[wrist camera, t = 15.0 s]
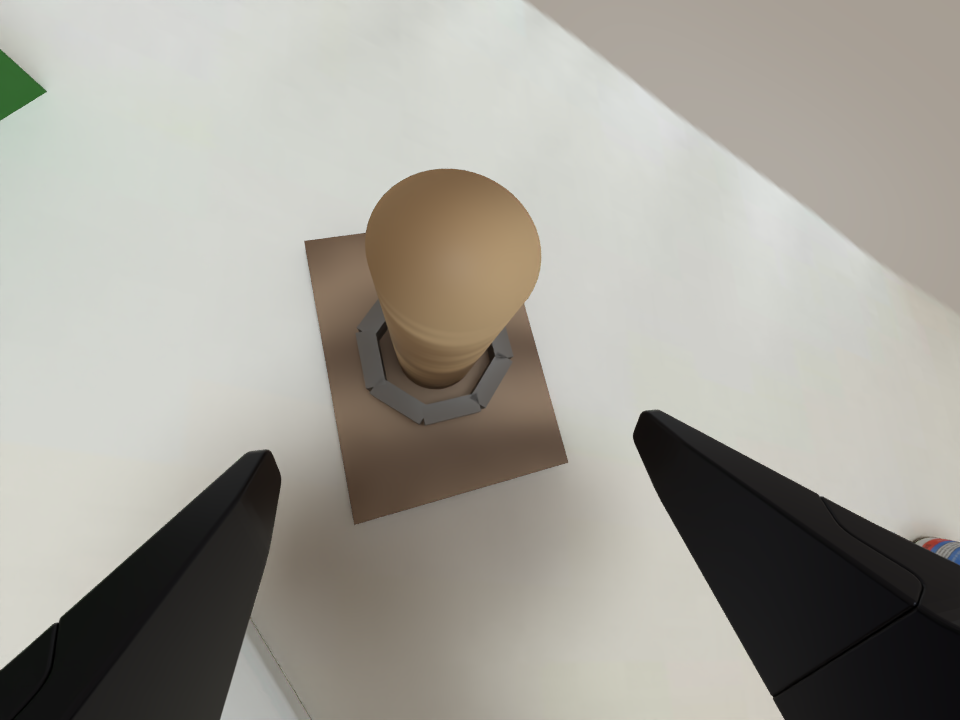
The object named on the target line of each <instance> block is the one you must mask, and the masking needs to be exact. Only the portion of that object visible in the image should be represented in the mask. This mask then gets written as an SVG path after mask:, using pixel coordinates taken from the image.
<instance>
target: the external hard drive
mask: <svg viewBox="0 0 960 720" xmlns="http://www.w3.org/2000/svg"><path fill="white" fill-rule="evenodd" d="M220 720H311V718H310V717H309V715H308V713H307V712H306V710H305V709H304V707H303V705H302V704H301V702H300V700H299V699H298V697H297V695H296V694H295V692H294V690H293V689H292V687H291V685H290V684H289V682H288V680H287V679H286V677H285V675H284V674H283V672H282V670H281V669H280V667H279V665H278V664H277V662H276V660H275V659H274V657H273V655H272V654H271V652H270V650H269V649H268V647H267V646H266V644H265V642H264V641H263V639H262V637H261V636H260V634H259V632H258V631H257V629H256V627H255V626H254V624H253V622H252V621H251V619H250V620H249V623H248V626H247V630H246V633H245V637H244V640H243V643H242V647H241V650H240V654H239V657H238V660H237V664H236V667H235V671H234V674H233V678H232V681H231V684H230V688H229V691H228V695H227V698H226V701H225V705H224V708H223V712H222V715H221V719H220Z"/></svg>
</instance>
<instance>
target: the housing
mask: <svg viewBox="0 0 960 720" xmlns="http://www.w3.org/2000/svg"><path fill="white" fill-rule="evenodd" d="M365 237H366V233H362V234H354V235H347V236H339V237H331V238H324V239H316V240H308V241H304V242H305V248H306V253H307V259H308V265H309V270H310V276H311V282H312V287H313V293H314V299H315V304H316V310H317V316H318V321H319V327H320V333H321V338H322V344H323V350H324V355H325V361H326V367H327V372H328V378H329V384H330V389H331V395H332V401H333V406H334V412H335V418H336V423H337V429H338V435H339V440H340V446H341V452H342V457H343V463H344V469H345V474H346V480H347V486H348V491H349V497H350V503H351V508H352V514H353V520H354V525H355V524H359V523H362V522H366V521H369V520H373V519H376V518H379V517H383V516H386V515H390V514H393V513H397V512H400V511H403V510H407V509H410V508H414V507H417V506H421V505H424V504H427V503H431V502H434V501H438V500H441V499H445V498H448V497H451V496H455V495H458V494H462V493H465V492H469V491H472V490H475V489H479V488H482V487H486V486H489V485H493V484H496V483H499V482H503V481H506V480H510V479H513V478H517V477H520V476H523V475H527V474H530V473H534V472H537V471H541V470H544V469H547V468H551V467H554V466H558V465H561V464H565V463H568V460H567V456H566V452H565V449H564V445H563V442H562V438H561V435H560V431H559V427H558V424H557V420H556V417H555V413H554V409H553V406H552V402H551V399H550V395H549V392H548V388H547V384H546V381H545V377H544V374H543V370H542V366H541V363H540V359H539V356H538V352H537V349H536V345H535V341H534V338H533V334H532V331H531V327H530V323H529V320H528V316H527V313H526V309H525V305H524V304H523V305H522V306H521V307H520V309H519V310H518V311H517V312H516V314H515V315H514V316H513V317H512V318H511V320H510V321H509V322H508V323H507V325H506V326H505V327H504V328H503V330H502V331H501V332H500V333H499V335H498V336H497V337H496V338H495V339H494V341H493V342H492V343H491V344H490V346H489V347H488V348H487V349H486V351H485V352H484V353H483V354H482V356H481V357H480V358H479V359H478V360H477V362H476V363H475V364H474V365H473V367H472V368H471V369H470V370H469V372H468V373H467V374H466V375H465V377H464V378H463V379H462V380H461V381H459V382H458V383H456V384H455V385H453V386H450V387H448V388H444V389H428V388H424V387H421V386H419V385H417V384H415V383H414V382H412V381H411V380H410V379H409V378H408V377H407V376H406V375H405V374H404V372H403V371H402V369H401V367H400V365H399V362H398V359H397V356H396V352H395V349H394V346H393V343H392V340H391V337H390V333H389V330H388V327H387V324H386V321H385V317H384V314H383V311H382V308H381V305H380V302H379V298H378V295H377V292H376V289H375V286H374V283H373V279H372V276H371V273H370V270H369V267H368V263H367V258H366V251H365Z"/></svg>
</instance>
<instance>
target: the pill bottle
mask: <svg viewBox="0 0 960 720" xmlns="http://www.w3.org/2000/svg"><path fill="white" fill-rule="evenodd" d="M915 544H917V545H919V546H921V547H924V548H926V549H928V550H930V551H932V552H934V553H936V554H938V555H940V556H942V557H944V558H947V559H949V560H951V561H953V562H955V563H957V564H959V565H960V542H956V541H951V540H946V539H940V538H924V539H921V540H919V541H917V542H916V543H915Z"/></svg>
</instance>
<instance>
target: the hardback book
mask: <svg viewBox="0 0 960 720" xmlns="http://www.w3.org/2000/svg"><path fill="white" fill-rule="evenodd" d="M45 92H47V91H46V90H45V89H43V88H42V87H41V86H40V85H39V84H38V83H37V82H36V81H35V80H34V79H32V78H31V77H30V76H29V75H28V74H27V73H26V72H25V71H24V70H23V69H22V68H20V67H19V66H18V65H17V64H16V63H15V62H14V61H13V60H12V59H11V58H9V57H8V56H7V55H6V54H5V53H4V52H3V51H2V50H1V49H0V120H2V119H4V118H5V117H7V116H8V115H10V114H12V113H13V112H15V111H16V110H18V109H20V108H21V107H23V106H24V105H26V104H28V103H29V102H31V101H33V100H34V99H36V98H37V97H39V96H41V95H42V94H44V93H45Z"/></svg>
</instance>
